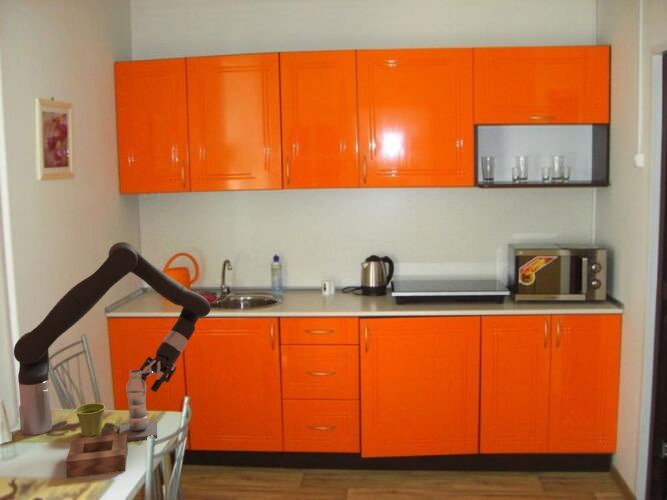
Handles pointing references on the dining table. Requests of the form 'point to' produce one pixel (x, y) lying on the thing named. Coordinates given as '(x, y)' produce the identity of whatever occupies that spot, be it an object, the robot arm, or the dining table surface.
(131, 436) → the slate mat
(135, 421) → the plastic bottle
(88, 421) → the plant pot
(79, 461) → the pocket block
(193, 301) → the robot arm
